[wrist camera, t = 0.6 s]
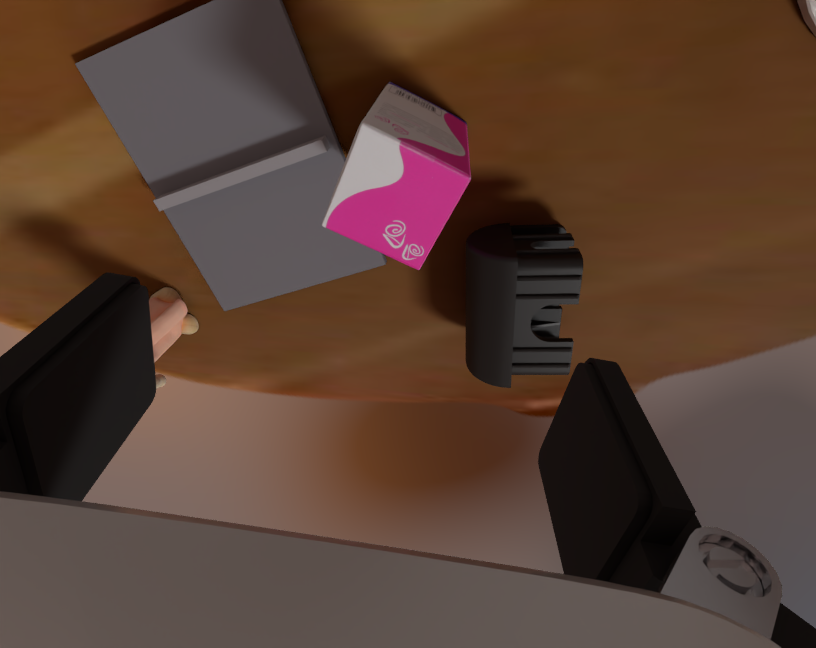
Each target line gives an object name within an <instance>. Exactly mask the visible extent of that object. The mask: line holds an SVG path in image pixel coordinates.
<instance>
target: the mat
mask: <svg viewBox="0 0 816 648" xmlns="http://www.w3.org/2000/svg"><path fill="white" fill-rule="evenodd" d="M75 65H76V66H77V68H78V70H79V71H80V73H81V75H82V76H83V78H84V79H85V81H86V83H87V84H88V86H89V88H90V89H91V91H92V93H93V94H94V96H95V98H96V99H97V101H98V103H99V104H100V106H101V108H102V109H103V111H104V113H105V114H106V116H107V118H108V119H109V121H110V123H111V124H112V126H113V128H114V129H115V131H116V132H117V134H118V136H119V137H120V139H121V141H122V142H123V144H124V146H125V147H126V149H127V151H128V152H129V154H130V156H131V157H132V159H133V161H134V162H135V164H136V166H137V167H138V169H139V171H140V172H141V174H142V176H143V177H144V179H145V181H146V182H147V184H148V185H149V187H150V189H151V190H152V192H153V194H154V195H155V197H156V199H155V200H153V201H154V203H155V204H156V206H157V208H158V209H159V211H162V210H164V212H165V214H166V215H167V217H168V219H169V220H170V222H171V224H172V225H173V227H174V229H175V230H176V232H177V234H178V235H179V237H180V238H181V240H182V242H183V243H184V245H185V247H186V248H187V250H188V252H189V253H190V255H191V257H192V258H193V260H194V262H195V263H196V265H197V267H198V268H199V270H200V272H201V273H202V275H203V277H204V278H205V280H206V282H207V283H208V285H209V287H210V288H211V290H212V291H213V293H214V295H215V296H216V298H217V300H218V301H219V303H220V305H221V306H222V308H223V310H224V311H227V310H231V309H234V308H238V307H241V306H244V305H248V304H251V303H255V302H258V301H262V300H265V299H268V298H272V297H275V296H279V295H282V294H286V293H289V292H293V291H296V290H299V289H303V288H306V287H310V286H313V285H317V284H320V283H323V282H327V281H330V280H334V279H337V278H341V277H344V276H348V275H351V274H354V273H358V272H361V271H365V270H368V269H372V268H375V267H378V266H382V265H385V264H386V262H387V261H386V258H385V256H384V254H382V253H380V252H378V251H376V250H373V249H371V248H369V247H367V246H365V245H362V244H360V243H358V242H356V241H354V240H352V239H349V238H347V237H345V236H343V235H340V234H338V233H336V232H334V231H332V230H330V229H328V228H325V227H323V226H322V222H323V219H324V217H325V214H326V212H327V209H328V206H329V203H330V201H331V198H332V195H333V192H334V190H335V187H336V184H337V182H338V179H339V176H340V174H341V171H342V169H343V166H344V164H345V161H346V158H345V156H344V153H343V151H342V148H341V146H340V143H339V141H338V139H337V136H336V134H335V131H334V129H333V126H332V124H331V121H330V119H329V116H328V114H327V111H326V109H325V106H324V104H323V101H322V99H321V96H320V94H319V91H318V89H317V86H316V84H315V81H314V79H313V76H312V74H311V71H310V69H309V66H308V64H307V61H306V59H305V56H304V54H303V51H302V49H301V46H300V44H299V41H298V39H297V36H296V34H295V31H294V29H293V26H292V24H291V21H290V19H289V16H288V14H287V12H286V9H285V7H284V4H283V2H282V0H213V1H211V2H209V3H206V4H204V5H202V6H200V7H198V8H195V9H193V10H191V11H189V12H187V13H185V14H182V15H180V16H178V17H176V18H174V19H171V20H169V21H167V22H165V23H163V24H161V25H158V26H156V27H154V28H152V29H150V30H147V31H145V32H143V33H141V34H139V35H136V36H134V37H132V38H130V39H128V40H126V41H123V42H121V43H119V44H117V45H115V46H112V47H110V48H108V49H106V50H104V51H102V52H99V53H97V54H95V55H93V56H91V57H88V58H86V59H84V60H82V61H80V62H78V63H75Z"/></svg>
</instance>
